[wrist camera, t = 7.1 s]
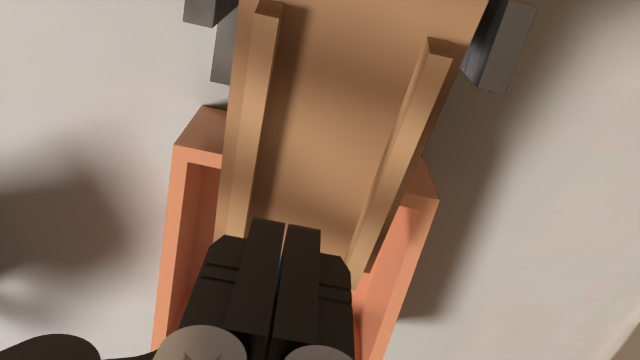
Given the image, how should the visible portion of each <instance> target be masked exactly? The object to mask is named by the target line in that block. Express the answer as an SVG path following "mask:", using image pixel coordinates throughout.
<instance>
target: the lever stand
mask: <svg viewBox="0 0 640 360" xmlns="http://www.w3.org/2000/svg"><path fill="white" fill-rule="evenodd" d="M238 5H239V0H185V5H184V15H183V22H187V23H192V24H196V25H201V26H205V27H209V28H213V27H214V26H215V25H216V24H218V26H217V33H216V41H215V48H214V56H213V63H212V70H211V78H210V81H212V82H216V83H221V84H225V85H230V80H231V71H232V61H233V52H234V42H235V33H236V24H237V14H238ZM536 11H537V7H534V6H532V5H529V4H526V3H524V2H521V1H519V0H489V1H488V4H487V6H486V8H485V10H484V13H483V15H482V17H481V20H480V22H479V24H478V26H477V29H476V31H475V33H474V36H473V38H472V40H471V43H470V45H469V47H468V49H467V52H466V54H465V56H464V59H463V61H462V63H461V65H460V69H461V70H462V72H463V73H464V74H465V75H466V76H467V77H468V78H469V79H470V80H471V82H472V83H473V84H474V85H475V86H476V87H477V88H479V89H483V90H487V91H492V92H496V93H501V94H505V92H506V90H507V87H508V84H509V82H510V79H511V76H512V74H513V71H514V69H515V66H516V63H517V61H518V58H519V56H520V53H521V50H522V48H523V45H524V42H525V40H526V37H527V35H528V32H529V29H530V27H531V24H532V22H533V19H534V16H535V14H536Z"/></svg>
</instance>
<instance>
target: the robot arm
mask: <svg viewBox="0 0 640 360" xmlns="http://www.w3.org/2000/svg"><path fill="white" fill-rule="evenodd" d="M285 224H286V223H284V222H278V221H273V220H268V219H263V218H257V217H253V219H252V222H251V226H250V230H249V234H248V237H247V239H245V238H240V237H235V236H229V235H223V236H222V237H220V238H219V239H218V240H217V241H215V242H214V243H213V244H211V245H210V246H209V248H208V251H207V254H206V256H205V259H204V262H203V265H202V267H201V269H200V272H199V275H198V278H197V280H196V283H195V285H194V288H193V291H192V293H191V296H190V298H189V301H188V304H187V306H186V309H185V312H184V314H183V317H182V319H181V322H180V325H179V327H178V330H177V331H175V332H173V333H172V334H170V335H169V336H167V337H166V338H165V339H164V340H163V342H162V343H161V345H160V346H159V348H158V349H157V350H155V351H152V352H150V353H147V354H144V355H140V356H136V357H129V358H118V359H106V360H355V347H354V328H353V308H352V292H351V272H350V271H349V269H348V267H347V266H346V264H345V263H344V261H343V259H342V258H341V256H336V255H331V254H326V253H320V244H321V229H316V228H310V227H305V226H300V225H295V224H289V223H288V227H287V231H286V236H285V240H284V245H283V250H282V243H283V237H284V230H285ZM281 250H282V254H281ZM280 256H281V259H280ZM279 263H280V264H279ZM0 360H101V359H100V355H99V353H98V351H97V350H96V348H95V347H94V346H93V345H92V344H91V343H90V342H88V341H86V340H84V339H82V338H80V337H77V336H73V335H68V334H49V335H42V336H38V337H34V338H31V339H29V340H26V341H23V342H21V343H19V344H17V345H14V346H12V347H10V348H7V349H5V350H3V351H0Z"/></svg>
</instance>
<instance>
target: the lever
mask: <svg viewBox="0 0 640 360" xmlns="http://www.w3.org/2000/svg"><path fill="white" fill-rule="evenodd" d="M488 1H489V0H239V5H238V14H237V24H236V33H235V42H234V52H233V61H232V71H231V80H230V89H229V99H228V108H227V117H226V127H225V136H224V146H223V155H222V164H221V174H220V183H219V192H218V202H217V211H216V220H215V230H214V239H213V243H214V242H215V241H217V240H218V239H219V238H220V237H222V236H223V235H229V236H235V237H240V238H245V239H247V237H248V234H249V230H250V226H251V222H252V219H253V217H257V218H263V219H268V220H273V221H278V222H284V223H286V224H285V230H284V237H283V243H282V250H283V245H284V240H285V236H286V231H287V227H288V223H289V224H295V225H300V226H305V227H310V228H316V229H321V244H320V253H326V254H331V255H336V256H341V258H342V259H343V261H344V263H345V264H346V266H347V267H348V269H349V271H350V272H351V290H355V291H356V288H357V286H358V283H359V281H360V279H361V276H362V274H363V273H368V274H370V272H371V270H372V267H373V265H374V263H375V260H376V258H377V256H378V253H379V251H380V249H381V247H382V244H383V242H384V240H385V237H386V235H387V233H388V231H389V228H390V226H391V224H392V221H393V219H394V217H395V214H396V212H397V210H398V208H399V205H400V203H401V201H402V198H403V196H404V194H405V192H406V189H407V187H408V185H409V182H410V180H411V178H412V176H413V173H414V171H415V169H416V166H417V164H418V162H419V159H420V157H421V155H422V153H423V150H424V148H425V146H426V143H427V141H428V139H429V137H430V134H431V132H432V130H433V127H434V125H435V123H436V120H437V118H438V116H439V114H440V111H441V109H442V107H443V104H444V102H445V100H446V98H447V95H448V93H449V91H450V88H451V86H452V84H453V81H454V79H455V77H456V75H457V72H458V70H459V68H460V65H461V63H462V61H463V59H464V56H465V54H466V52H467V49H468V47H469V45H470V43H471V40H472V38H473V36H474V33H475V31H476V29H477V26H478V24H479V22H480V20H481V17H482V15H483V13H484V10H485V8H486V6H487V4H488ZM282 250H281V254H282Z"/></svg>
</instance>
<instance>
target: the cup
mask: <svg viewBox="0 0 640 360" xmlns="http://www.w3.org/2000/svg"><path fill="white" fill-rule="evenodd" d="M226 117H227V111H225V110H221V109H216V108H211V107H207V106H201V107H200V109H199V110H198V111H197V113H196V114H195V116H194V117H193V118H192V120H191V121H190V122H189V124H188V125H187V127H186V128H185V129H184V131H183V132H182V134H181V135H180V136H179V138H178V139H177V140H176V142H175V143H174V145H173V154H172V163H171V172H170V181H169V190H168V199H167V208H166V218H165V227H164V236H163V245H162V254H161V263H160V272H159V281H158V290H157V299H156V308H155V318H154V327H153V336H152V345H151V351H155V350H157V349H158V348H159V346H160V345H161V343H162V342H163V340H164V339H165V338H166V337H167V336H169V335H170V334H172V333H173V332H175V331H177V330H178V327H179V325H180V322H181V319H182V317H183V314H184V312H185V309H186V306H187V304H188V301H189V298H190V296H191V293H192V291H193V288H194V285H195V283H196V280H197V278H198V275H199V272H200V269H201V267H202V265H203V262H204V259H205V256H206V254H207V251H208V248H209V246H210V245H211V244H213V239H214V230H215V220H216V211H217V202H218V192H219V183H220V174H221V164H222V155H223V146H224V136H225V127H226ZM439 201H440V199H439V197H438V194H437V192H436V189H435V186H434V184H433V181H432V179H431V176H430V174H429V171H428V169H427V166H426V164H425V161H424V159H423V156H422V155H421V157H420V159H419V162H418V164H417V166H416V169H415V171H414V173H413V176H412V178H411V180H410V182H409V185H408V187H407V189H406V192H405V194H404V196H403V198H402V201H401V203H400V205H399V208H398V210H397V212H396V214H395V217H394V219H393V221H392V224H391V226H390V228H389V231H388V233H387V235H386V237H385V240H384V242H383V244H382V247H381V249H380V251H379V253H378V256H377V258H376V260H375V263H374V265H373V267H372V270H371V272H370V274H368V273H363V274H362V276H361V279H360V281H359V283H358V286H357V288H356V291H355V290H351V292H352V308H353V328H354V347H355V360H383V357H384V354H385V351H386V349H387V346H388V343H389V340H390V337H391V335H392V332H393V329H394V326H395V324H396V321H397V318H398V315H399V312H400V310H401V307H402V304H403V301H404V299H405V296H406V293H407V290H408V287H409V285H410V282H411V279H412V276H413V274H414V271H415V268H416V265H417V262H418V260H419V257H420V254H421V251H422V249H423V246H424V243H425V240H426V237H427V235H428V232H429V229H430V226H431V224H432V221H433V218H434V215H435V212H436V210H437V207H438V204H439Z"/></svg>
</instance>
